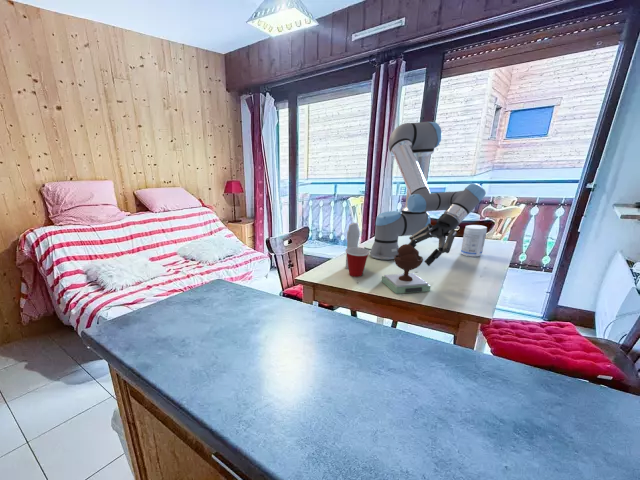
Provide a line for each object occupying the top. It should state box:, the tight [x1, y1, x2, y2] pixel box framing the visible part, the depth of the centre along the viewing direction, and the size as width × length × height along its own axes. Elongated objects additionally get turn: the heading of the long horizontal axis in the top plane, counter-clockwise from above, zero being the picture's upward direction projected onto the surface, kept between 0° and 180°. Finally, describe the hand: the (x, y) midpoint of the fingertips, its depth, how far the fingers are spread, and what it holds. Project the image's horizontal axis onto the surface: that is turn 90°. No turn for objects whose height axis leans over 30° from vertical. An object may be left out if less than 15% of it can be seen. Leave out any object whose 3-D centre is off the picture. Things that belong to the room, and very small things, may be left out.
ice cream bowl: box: [394, 243, 424, 281], centre depth 133 cm, size 11×11×15 cm
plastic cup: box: [344, 246, 371, 278], centre depth 150 cm, size 11×11×12 cm
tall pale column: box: [345, 222, 361, 270], centre depth 161 cm, size 11×4×22 cm, turn 134°
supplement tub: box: [460, 224, 488, 258], centre depth 168 cm, size 10×10×15 cm
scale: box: [381, 272, 431, 295], centre depth 136 cm, size 15×14×3 cm
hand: (414, 259), depth 134 cm, fingers open, 13 cm apart
